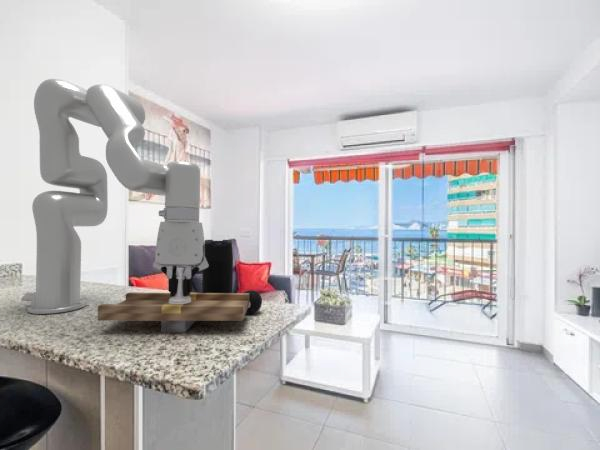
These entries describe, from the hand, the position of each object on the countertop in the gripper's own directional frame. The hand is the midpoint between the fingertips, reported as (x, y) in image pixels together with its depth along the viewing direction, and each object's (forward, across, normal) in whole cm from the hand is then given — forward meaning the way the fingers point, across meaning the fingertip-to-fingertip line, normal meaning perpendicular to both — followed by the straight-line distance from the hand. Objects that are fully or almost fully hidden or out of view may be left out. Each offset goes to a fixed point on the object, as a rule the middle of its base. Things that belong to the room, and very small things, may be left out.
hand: (180, 294), depth 72 cm
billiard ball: (+7, +15, +10) cm, 20 cm away
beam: (+7, 0, 0) cm, 7 cm away
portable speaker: (+7, +5, +16) cm, 18 cm away
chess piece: (+2, 0, 0) cm, 2 cm away
